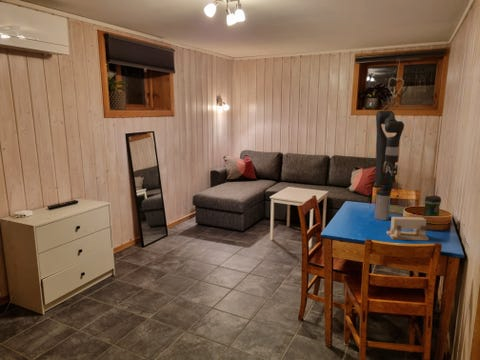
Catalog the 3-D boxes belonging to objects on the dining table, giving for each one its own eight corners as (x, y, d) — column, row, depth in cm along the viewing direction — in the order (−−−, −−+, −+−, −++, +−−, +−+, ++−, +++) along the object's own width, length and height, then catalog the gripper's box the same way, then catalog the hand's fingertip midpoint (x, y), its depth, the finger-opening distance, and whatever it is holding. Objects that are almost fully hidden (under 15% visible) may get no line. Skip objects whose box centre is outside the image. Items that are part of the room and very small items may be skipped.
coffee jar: (430, 225, 227) (433, 197, 223) (420, 221, 234) (422, 195, 231) (440, 223, 230) (443, 196, 227) (430, 220, 237) (433, 194, 234)
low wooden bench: (386, 233, 210) (387, 220, 209) (419, 234, 209) (421, 221, 208) (393, 239, 199) (394, 226, 198) (428, 240, 198) (429, 227, 197)
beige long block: (390, 226, 206) (391, 216, 205) (421, 226, 205) (422, 217, 204) (393, 228, 202) (394, 219, 200) (425, 229, 200) (426, 219, 199)
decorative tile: (408, 217, 245) (409, 212, 244) (379, 212, 257) (380, 208, 257) (415, 212, 259) (415, 207, 258) (387, 207, 272) (387, 203, 271)
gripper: (381, 153, 215) (379, 178, 218) (390, 155, 201) (388, 182, 204) (393, 153, 215) (391, 178, 217) (403, 155, 201) (400, 182, 203)
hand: (389, 180), depth 211 cm, fingers open, 8 cm apart
